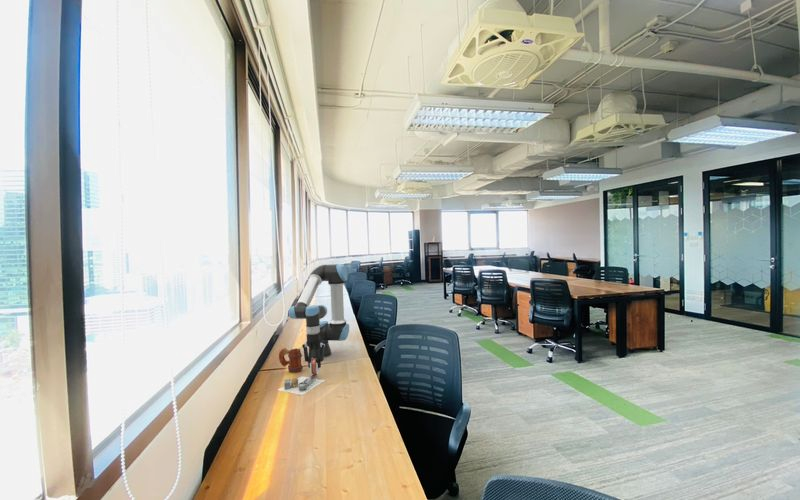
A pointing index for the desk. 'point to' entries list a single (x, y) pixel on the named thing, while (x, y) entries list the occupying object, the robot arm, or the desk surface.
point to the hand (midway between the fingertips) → (314, 373)
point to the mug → (291, 359)
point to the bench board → (303, 391)
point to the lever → (309, 380)
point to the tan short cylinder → (294, 383)
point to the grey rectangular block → (287, 384)
